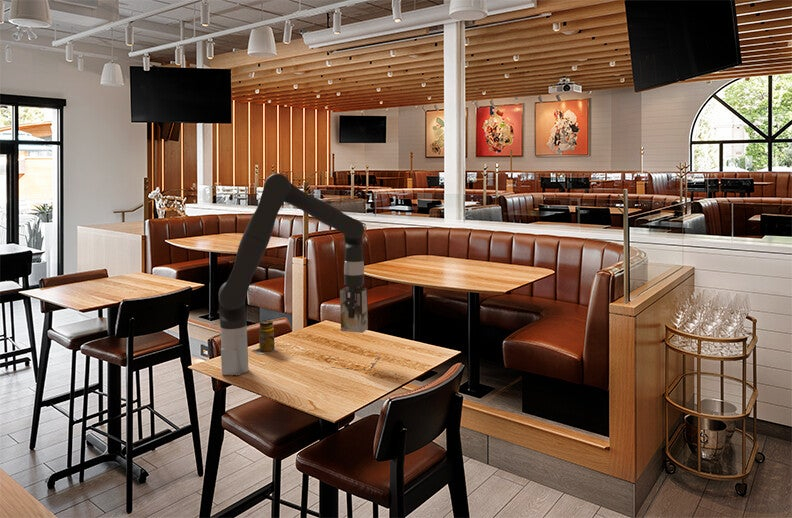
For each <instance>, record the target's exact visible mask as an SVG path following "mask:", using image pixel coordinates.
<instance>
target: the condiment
mask: <svg viewBox="0 0 792 518" xmlns="http://www.w3.org/2000/svg"><path fill="white" fill-rule="evenodd" d="M258 337H259V338H258V339H259V340H258V341H259V344H258V345H259V346H258V347H259V348H255V349H251V351H252V352H254V353H256V354H258V355H265V354H269V353H273V352H274V353H275V352H278V351H279V348H278V349H277V348H276V347H275V346H276V345H275V328H274V322H273V321H272V320H262V321H260V322H259V329H258Z"/></svg>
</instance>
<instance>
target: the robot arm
mask: <svg viewBox="0 0 792 518" xmlns="http://www.w3.org/2000/svg"><path fill="white" fill-rule="evenodd" d="M284 203H285V204H286V203H287V204H288V205H291V206H293V207H296V208H297V209H299V210H301V211H303V212H304V213H306V214H307V215H309V216H311V217H312V218H314V219H315V220H316V221H319V222H320V223H322V224H324V225H325V226H328V227H330V228H332V229H334V230H336V231H338V232H339V233H340V234H342V235H343V237H344V263H343V284H344V286H345V287H349V291H348V292H346V308H348V317H349V318H354V317H355V302H356V300H353V296H354V292H355V290H356V289H358V288H363V286H364V284H365V265H364V264H365V263H364V262H365V261H364V248H363V235H364V233H365V226H364V224H363V223H362V222H361V221H360V220H358V219H357V218H354V217H352V216H349V215H347V214H345V213H343V212H342V211H341V210H340V209H338V208H336V207H334V206H333V205H331V204H330V203H328V202H326V201H323V200H321V199H319V198H317V197H315V196H313V195H311V194H308V193H306V192H304V191H303V190H301V188H298V187H297V186H295V185H294V183H292V182H290V180H289V179H288V178H287V177H286V175H284V174H282V173H273V174H270V175H269V176H268V177H267V178H266V179H265V181H264V184H263V189H262V191H261V196H260V198H259V202H258V205H257V207H256V209H255V211H254V213H253V214H252V216H251V219H250V220H249V221H248V224H247V225H246V228H245V230H244V232H243V234H242V237H241V239H240V242H239V244H238V248H237V251H236V254H235V255H236V256H235V259H234V260H235V261H234V264H233V268H232V270H231V272H230V274H229V277H228V278H227V281H225V282H224V283H223V284H221V286H220V288H219V290H218V295H217V296H218V308H219V309H218V310H219V324H220V325H219V326H220V327H219V329H220V345H221V348H220V360H221V361H220V363H221V364H220V365H221V375H222V376H233V375H236V377H237V375H238V376H239V374H240V375H244V374H246V373H248V372H249V370H250V369H249V350H248V349H249V347H248V345H249V344H248V327H247V324H248V323H247V321H248V320H247V313H246V312H247V310H246V300H247V299H246V298H247V296H248V291H249V289H250V285H251V282H252V279H253V276H254V274H255V272H256V271H257V269H258V266H259V264H260V263H261V262H262V261H261V260H262V259H263V256H264V254H265V252H266V250H267V248H268V245H269V242H270V240H271V237H272V234H273V230H274V227H275V223H276V219H277V216H278V215H279V212H280V209H281V208H282V206H283V204H284ZM350 302H351V305H350ZM243 373H244V374H243Z"/></svg>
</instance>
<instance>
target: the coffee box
mask: <svg viewBox="0 0 792 518" xmlns="http://www.w3.org/2000/svg"><path fill="white" fill-rule="evenodd" d="M348 291H349V287H348V286H345V287H343V288H342V289H340V290H339V296H340V297H339V299H340V302H339V303H340V309H339V310H340V332H348V333H359V334H361V333H362V334H364V333H366V332H365V331H367V330H368V329H369V328H368V323H369V322H368V321H369V320H368V317H369V316H368V315H369V314H368V288H366V287H362V288H358V289H356V290H355V292H354V296H353V300H356V302H355V317H354V318H349V317H348V308H346V292H348ZM350 305H351V302H350Z"/></svg>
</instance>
